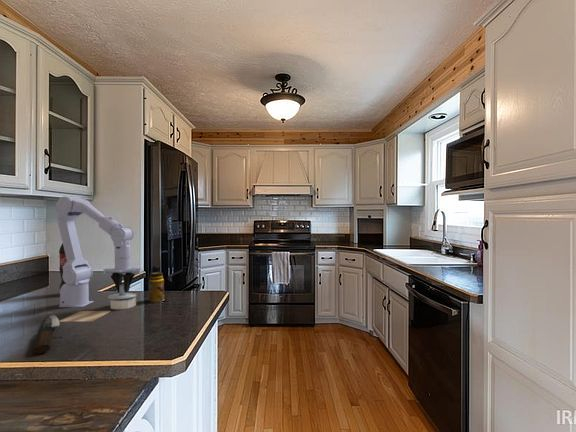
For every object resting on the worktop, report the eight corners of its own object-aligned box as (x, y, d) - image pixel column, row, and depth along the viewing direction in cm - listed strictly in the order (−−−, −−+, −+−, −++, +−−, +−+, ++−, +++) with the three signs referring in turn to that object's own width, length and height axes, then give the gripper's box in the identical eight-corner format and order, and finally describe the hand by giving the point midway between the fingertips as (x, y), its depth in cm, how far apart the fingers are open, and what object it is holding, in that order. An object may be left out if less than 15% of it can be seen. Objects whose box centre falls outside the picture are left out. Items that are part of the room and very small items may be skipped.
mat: (57, 322, 113) (57, 321, 113) (79, 312, 125) (79, 311, 125) (92, 322, 113) (92, 321, 113) (111, 312, 125) (111, 311, 125)
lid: (102, 299, 127) (102, 286, 127) (118, 295, 137) (118, 283, 137) (127, 299, 126) (127, 286, 127) (141, 295, 136) (141, 283, 137)
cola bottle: (55, 295, 152) (54, 229, 152) (73, 291, 160) (72, 229, 160) (67, 296, 149) (66, 230, 149) (85, 292, 157) (84, 229, 157)
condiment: (166, 301, 139) (166, 273, 139) (145, 305, 135) (144, 275, 135) (162, 298, 146) (162, 270, 145) (141, 301, 141) (141, 272, 141)
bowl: (105, 310, 128) (105, 301, 128) (118, 303, 137) (118, 295, 137) (129, 310, 128) (128, 300, 128) (139, 303, 137) (139, 295, 137)
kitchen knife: (56, 341, 90) (33, 347, 87) (58, 349, 90) (35, 355, 87) (60, 309, 119) (43, 313, 117) (61, 315, 120) (44, 319, 117)
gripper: (98, 259, 128) (99, 294, 128) (136, 258, 128) (136, 294, 128) (108, 256, 135) (109, 290, 135) (144, 256, 135) (144, 289, 135)
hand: (123, 291), depth 132 cm, fingers closed on lid, 2 cm apart
